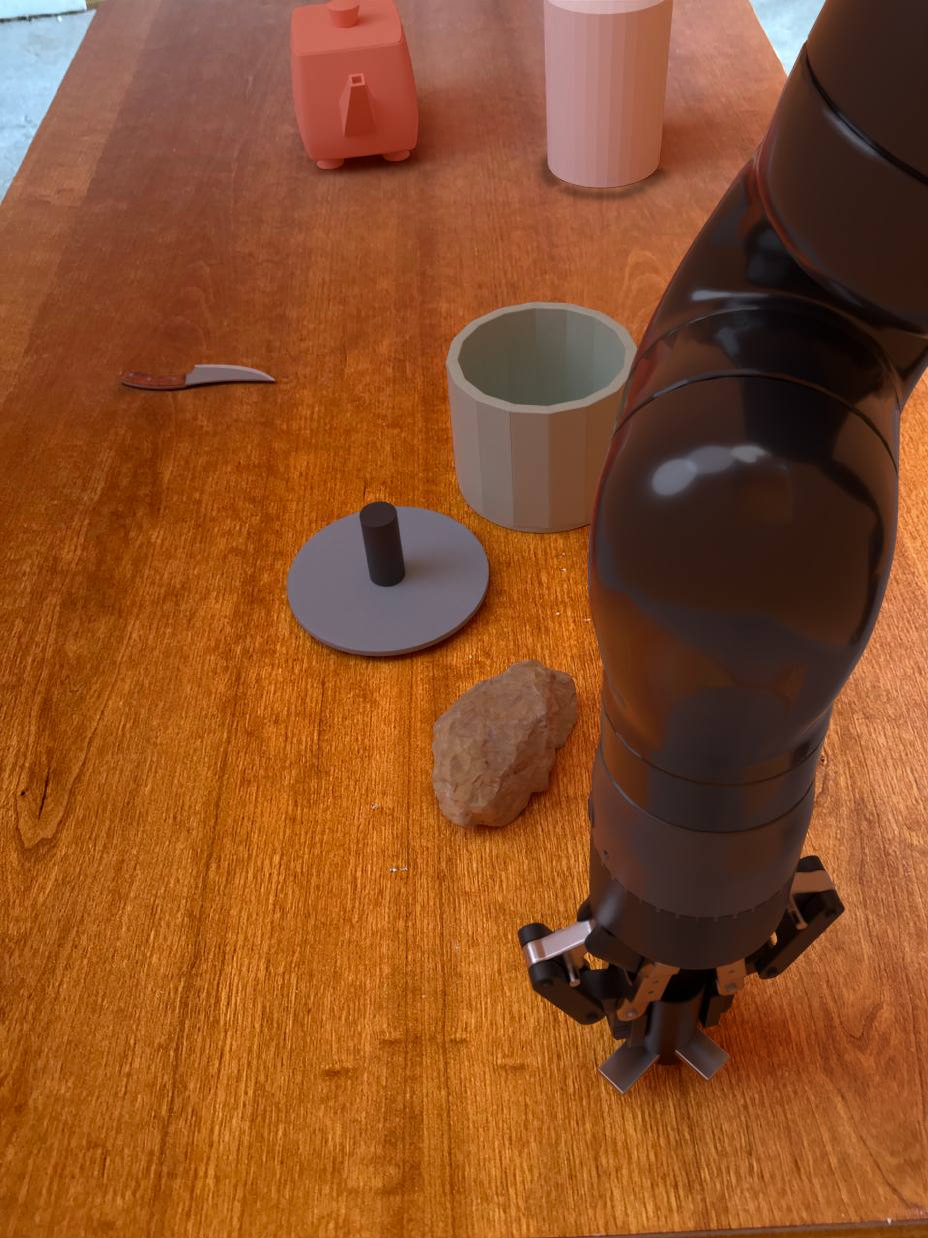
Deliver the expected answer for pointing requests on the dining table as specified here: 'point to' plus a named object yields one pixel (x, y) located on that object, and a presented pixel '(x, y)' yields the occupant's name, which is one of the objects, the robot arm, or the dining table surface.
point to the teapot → (353, 81)
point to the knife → (193, 377)
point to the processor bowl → (535, 411)
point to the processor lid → (388, 580)
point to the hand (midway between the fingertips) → (666, 1016)
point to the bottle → (605, 88)
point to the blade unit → (669, 1036)
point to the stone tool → (501, 743)
